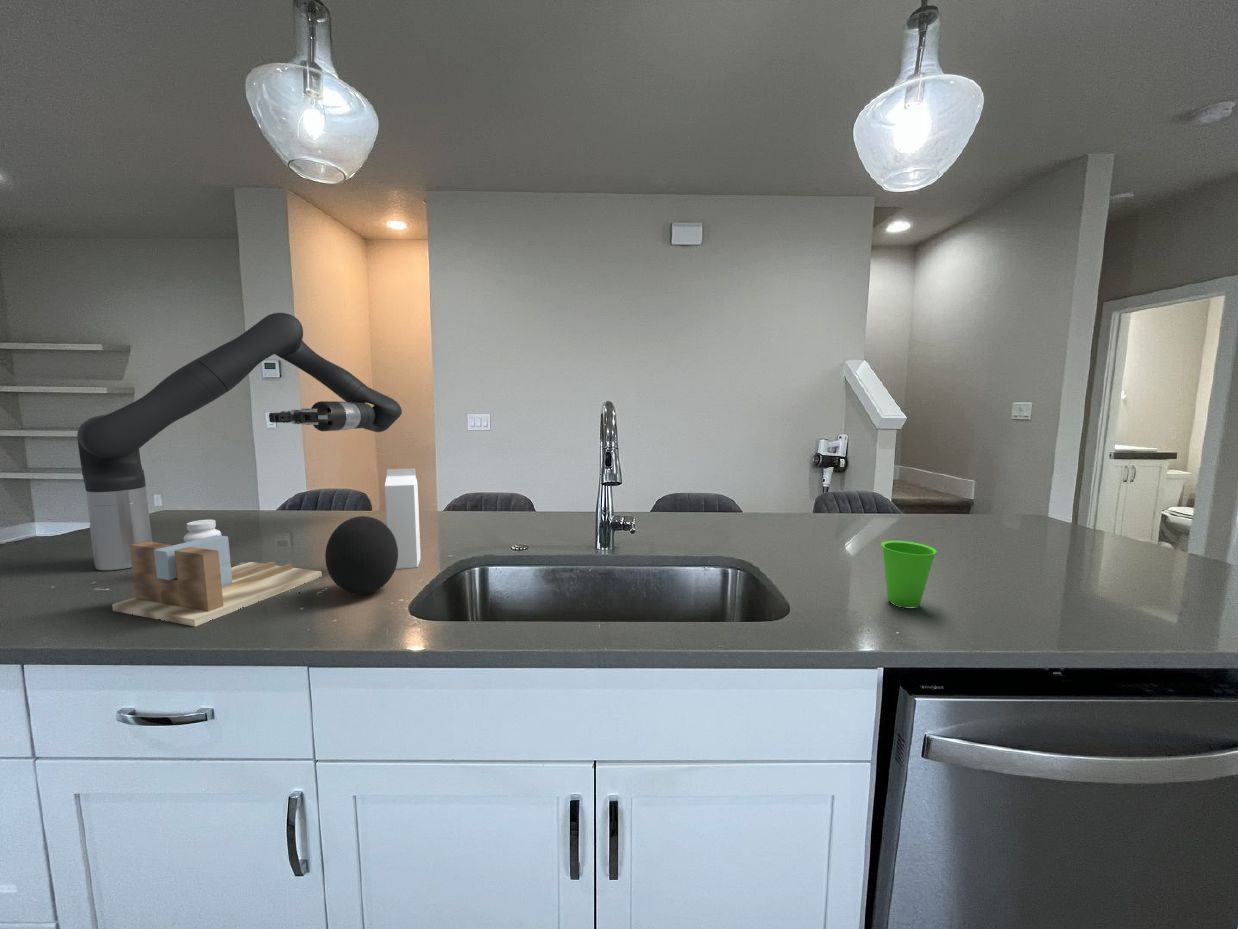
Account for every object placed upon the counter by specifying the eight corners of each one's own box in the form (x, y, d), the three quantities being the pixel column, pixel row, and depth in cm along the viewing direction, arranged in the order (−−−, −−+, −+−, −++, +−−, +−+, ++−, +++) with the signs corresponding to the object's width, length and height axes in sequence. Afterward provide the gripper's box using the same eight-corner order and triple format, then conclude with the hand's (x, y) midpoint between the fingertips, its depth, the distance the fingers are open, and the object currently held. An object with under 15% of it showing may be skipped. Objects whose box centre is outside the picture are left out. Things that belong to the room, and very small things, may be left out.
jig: (113, 610, 85) (105, 548, 83) (250, 567, 108) (246, 517, 106) (195, 626, 79) (188, 560, 78) (321, 576, 102) (318, 525, 101)
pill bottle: (225, 565, 109) (220, 517, 107) (225, 572, 104) (220, 522, 103) (188, 570, 105) (182, 521, 104) (186, 579, 100) (181, 527, 99)
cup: (924, 598, 94) (929, 543, 93) (938, 617, 86) (943, 557, 84) (872, 591, 97) (877, 538, 96) (881, 609, 89) (885, 551, 87)
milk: (417, 568, 108) (413, 470, 106) (388, 570, 107) (383, 471, 104) (420, 559, 114) (417, 466, 111) (392, 561, 113) (388, 467, 110)
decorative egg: (365, 609, 86) (360, 527, 85) (312, 600, 90) (306, 521, 88) (413, 585, 98) (410, 512, 96) (364, 578, 102) (360, 508, 100)
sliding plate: (160, 605, 84) (154, 550, 83) (221, 585, 94) (216, 535, 92) (172, 607, 83) (166, 551, 82) (232, 586, 93) (228, 536, 92)
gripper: (315, 401, 126) (248, 400, 110) (356, 401, 123) (293, 401, 106) (316, 429, 127) (250, 433, 111) (357, 431, 124) (295, 435, 107)
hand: (271, 417), depth 109 cm, fingers closed
